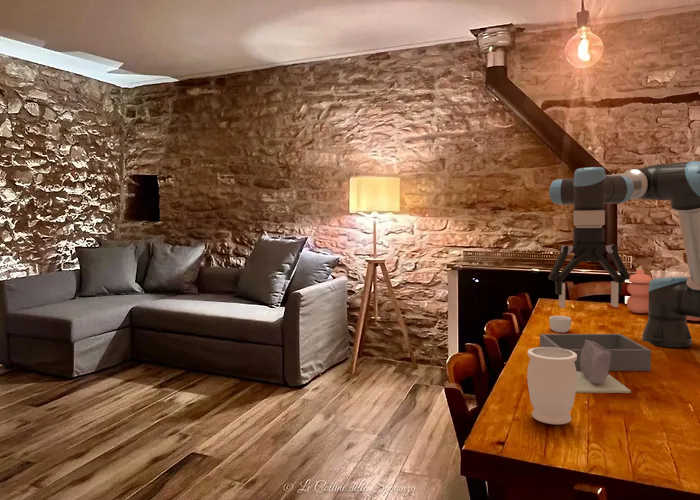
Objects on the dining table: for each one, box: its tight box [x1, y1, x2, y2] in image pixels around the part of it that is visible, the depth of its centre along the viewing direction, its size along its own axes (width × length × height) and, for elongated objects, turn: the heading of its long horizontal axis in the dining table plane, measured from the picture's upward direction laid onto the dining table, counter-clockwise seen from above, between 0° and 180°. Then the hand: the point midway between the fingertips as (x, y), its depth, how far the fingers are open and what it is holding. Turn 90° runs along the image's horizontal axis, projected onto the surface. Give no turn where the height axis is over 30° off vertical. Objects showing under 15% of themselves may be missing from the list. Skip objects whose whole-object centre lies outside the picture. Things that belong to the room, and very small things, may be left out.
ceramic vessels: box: [626, 269, 700, 322], centre depth 234 cm, size 35×21×19 cm, turn 61°
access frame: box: [539, 333, 652, 372], centre depth 166 cm, size 25×20×6 cm
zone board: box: [575, 371, 632, 394], centre depth 146 cm, size 16×16×1 cm
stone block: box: [580, 340, 612, 384], centre depth 145 cm, size 12×5×10 cm, turn 174°
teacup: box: [548, 315, 572, 334], centre depth 206 cm, size 10×8×5 cm
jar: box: [526, 346, 578, 425], centre depth 121 cm, size 11×10×15 cm
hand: (588, 306), depth 144 cm, fingers open, 13 cm apart
